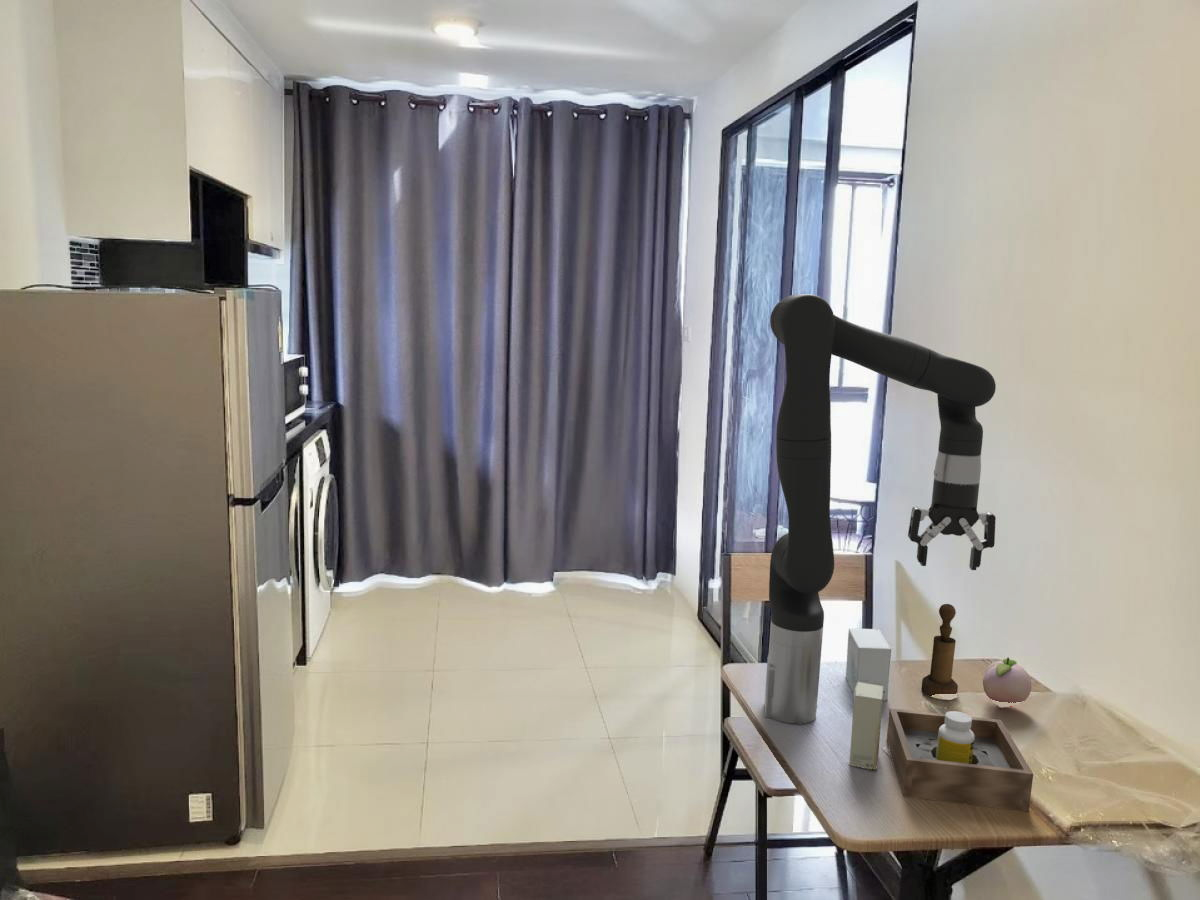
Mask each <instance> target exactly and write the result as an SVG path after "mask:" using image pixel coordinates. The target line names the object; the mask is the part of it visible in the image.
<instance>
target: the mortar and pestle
mask: <svg viewBox="0 0 1200 900" xmlns="http://www.w3.org/2000/svg"><path fill="white" fill-rule="evenodd" d="M956 610H957V609H956V608H955V606H954V605H952V604H951V603H944V604H942V605H940V607H939V608H938V614H939V616H940V619H941V622H942V623H941V624H940V625H939V632H940V633H939V634H940V635H935V636H933V641H932V642H933V644H932V646H933V647H932V655H931V665H930V672H929V674H928V675H926V676H924V677H923V678H922V679H921V690H920V691H921V692H922V694H923V695H925V696H926V697H927V696H928V697H929V696H932V695H935V694H956V693H957V694H958V690H959V685H958V684H957V682H956V681H955V680H954V679H953V678H952V676H953V667H954V658H955V652H956V651H955V649H956V643H957V640H956V639H955V638H953V637H950V636H951V634H952V632H953V627H952V626H951V622H952V621H953V619H954V618H955V617H956V614H957V613H956V612H957V611H956Z"/></svg>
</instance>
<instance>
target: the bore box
mask: <svg viewBox="0 0 1200 900" xmlns="http://www.w3.org/2000/svg"><path fill="white" fill-rule="evenodd" d="M945 714H946V713H940V712H939V713H936V712H930V711H929V712H927V711H919V710H908V709H901V708H889V712H888V721H887V722H888V723H887V734H886V744H887V748H888V750H889V749H890V751H889V754H890V753H891V754H890V757H891V756H892V757H891V760H892V759H893V761H892V763H894V764H893V766H894V769H895V770H894V771H895V774H896V776H897V779H898V783H899V787H900V789H901V793H902V797H905V798H912V799H913V798H914V799H922V800H930V801H939V802H945V803H946V802H947V803H955V804H956V803H957V804H964V805H971V806H980V807H990V808H998V809H1005V810H1014V811H1021V812H1030V804H1031V796H1032V788H1033V780H1034V772H1033V771H1032V770H1031V767H1030V766H1029V765H1028V763H1027V761H1026V760H1025V758H1024V756H1023V754H1022V753H1021V751H1020V749H1019V747H1018V746H1017V745H1016V743H1015V741H1014V740H1013V738H1012V736H1011V734H1010V732H1009V731H1008V729H1007V727H1006V726H1005V724H1004V722H1003V720H1001V719H996V718H984V717H976V716H970V717H971V718H972V726H971V728H970V730H971V731H972V732H973V733H974V736H975V740H974V748H973V756H972V764H967V763H958V762H949V761H940V760H937V759H935V758H936V750H937V741H938V732H939V728H940V727H941V726H942V725H943V724H945V722H944V721H945Z"/></svg>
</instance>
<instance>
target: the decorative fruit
mask: <svg viewBox="0 0 1200 900" xmlns="http://www.w3.org/2000/svg"><path fill="white" fill-rule="evenodd" d="M1031 680H1032V679H1031V677H1030V674H1029V672H1027V670H1026V669H1025V668H1024V667H1023V666H1020V665H1019V664H1018V663H1017V661H1016V660H1014V659H1011V658H1010V657H1007V658H1005V659H1002V660H996V661H994V662H991V663H990V664H989V666H987V668H986V669H985V671H984V675H983V678H982V687H983V691H984V692H985V695H986V696H988V697H989V698H990V699H992V700H995V701H999V702H1008V703H1010V702H1011V703H1012V702H1013V703H1016V702H1022V701H1024V702H1025V701H1026V700H1027V699H1028V698H1029V696H1030V695H1031V691H1032V681H1031ZM988 697H987V698H988ZM989 698H988V699H989ZM990 699H989V700H990ZM1022 703H1023V702H1022Z"/></svg>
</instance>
